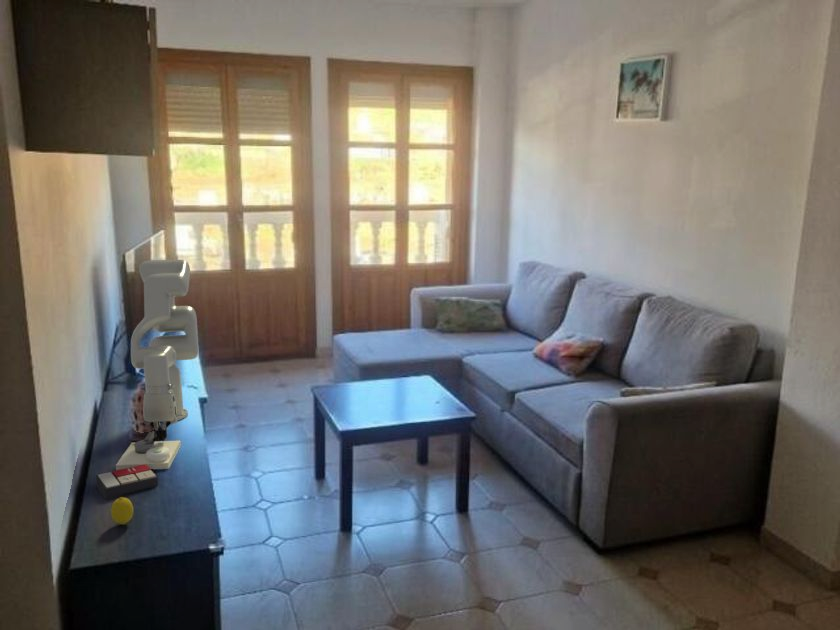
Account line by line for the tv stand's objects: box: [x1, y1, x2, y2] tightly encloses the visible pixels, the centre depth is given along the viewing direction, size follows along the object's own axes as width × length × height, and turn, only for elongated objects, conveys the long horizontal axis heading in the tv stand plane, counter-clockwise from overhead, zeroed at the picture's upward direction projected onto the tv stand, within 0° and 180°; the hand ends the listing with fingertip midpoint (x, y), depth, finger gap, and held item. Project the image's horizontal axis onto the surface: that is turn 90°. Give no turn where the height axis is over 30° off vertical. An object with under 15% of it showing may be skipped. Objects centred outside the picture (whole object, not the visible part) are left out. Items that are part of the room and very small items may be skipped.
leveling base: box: [115, 440, 182, 470], centre depth 228 cm, size 18×16×5 cm
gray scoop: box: [134, 430, 155, 454], centre depth 233 cm, size 13×6×2 cm, turn 7°
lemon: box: [110, 496, 134, 526], centre depth 186 cm, size 6×6×8 cm
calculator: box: [95, 464, 159, 500], centre depth 209 cm, size 11×4×15 cm
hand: (162, 439), depth 235 cm, fingers closed
